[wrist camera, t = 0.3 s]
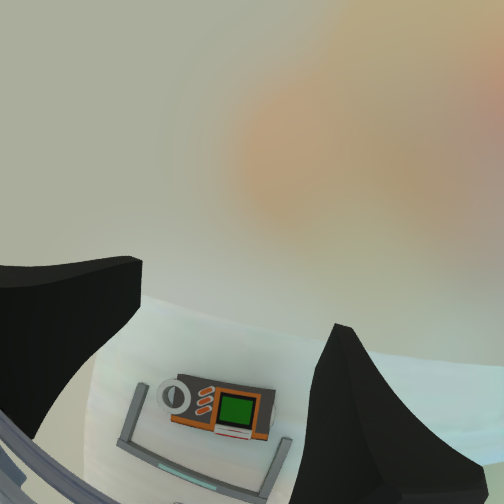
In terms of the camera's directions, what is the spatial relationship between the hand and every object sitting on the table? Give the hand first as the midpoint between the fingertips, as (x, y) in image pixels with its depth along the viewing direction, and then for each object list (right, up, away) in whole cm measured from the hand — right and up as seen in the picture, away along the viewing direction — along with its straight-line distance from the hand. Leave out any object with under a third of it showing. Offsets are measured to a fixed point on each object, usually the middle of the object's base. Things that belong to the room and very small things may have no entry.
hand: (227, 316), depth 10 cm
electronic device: (-4, -18, +25) cm, 30 cm away
